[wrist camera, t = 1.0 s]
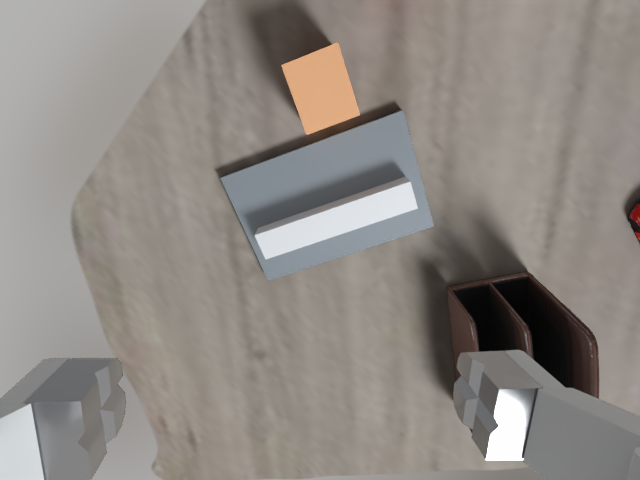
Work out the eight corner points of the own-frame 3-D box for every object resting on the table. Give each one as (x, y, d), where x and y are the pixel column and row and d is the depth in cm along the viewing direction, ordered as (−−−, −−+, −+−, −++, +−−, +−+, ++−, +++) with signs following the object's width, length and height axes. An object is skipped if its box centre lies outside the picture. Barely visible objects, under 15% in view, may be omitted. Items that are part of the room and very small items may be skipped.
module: (335, 49, 36) (337, 42, 31) (354, 110, 39) (360, 114, 33) (286, 68, 37) (281, 65, 31) (308, 128, 39) (306, 135, 34)
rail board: (401, 109, 38) (408, 111, 35) (431, 223, 43) (440, 233, 40) (222, 176, 41) (214, 183, 38) (269, 276, 46) (265, 290, 43)
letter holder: (528, 269, 45) (612, 343, 32) (529, 394, 53) (598, 495, 40) (444, 285, 46) (494, 363, 33) (457, 406, 54) (502, 509, 40)
